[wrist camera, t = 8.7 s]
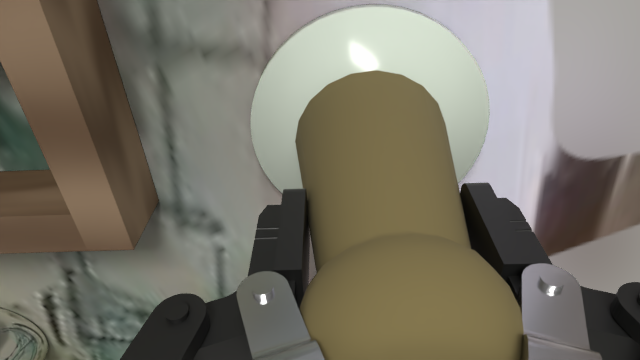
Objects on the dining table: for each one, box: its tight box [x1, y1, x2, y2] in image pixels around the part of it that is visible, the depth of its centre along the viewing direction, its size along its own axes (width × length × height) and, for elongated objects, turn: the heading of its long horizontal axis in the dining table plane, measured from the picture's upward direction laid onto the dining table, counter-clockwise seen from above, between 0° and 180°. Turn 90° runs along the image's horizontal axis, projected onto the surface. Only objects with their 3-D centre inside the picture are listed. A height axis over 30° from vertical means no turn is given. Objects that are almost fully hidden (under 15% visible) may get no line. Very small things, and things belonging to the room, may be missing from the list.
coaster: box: [250, 4, 490, 194], centre depth 19 cm, size 10×10×1 cm
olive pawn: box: [295, 70, 524, 360], centre depth 13 cm, size 6×6×11 cm
